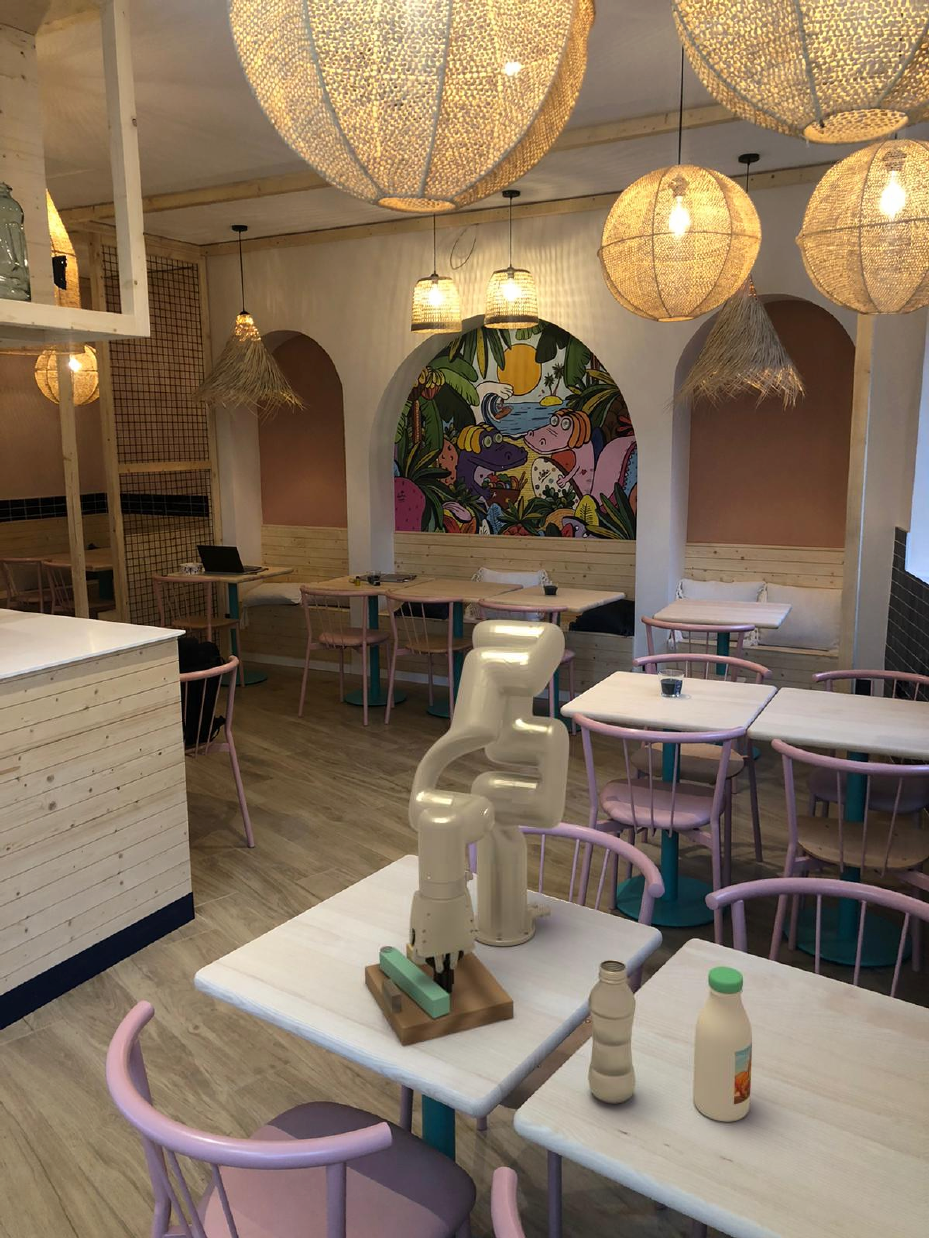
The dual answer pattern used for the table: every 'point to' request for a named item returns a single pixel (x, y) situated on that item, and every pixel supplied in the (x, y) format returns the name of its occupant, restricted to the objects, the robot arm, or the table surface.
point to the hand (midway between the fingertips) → (443, 989)
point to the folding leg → (414, 982)
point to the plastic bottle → (611, 1034)
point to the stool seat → (470, 1001)
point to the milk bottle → (723, 1050)
